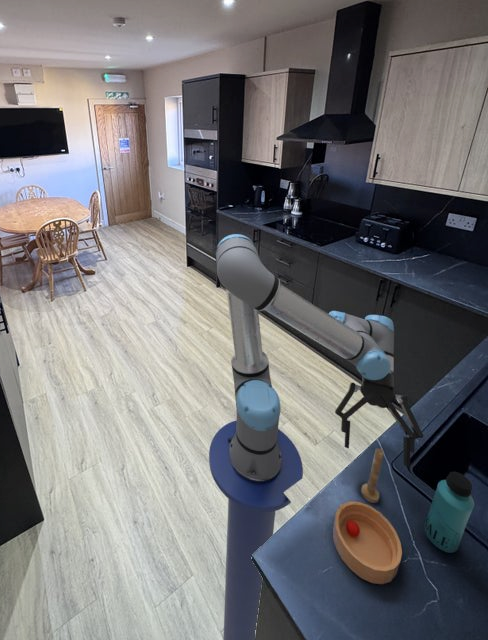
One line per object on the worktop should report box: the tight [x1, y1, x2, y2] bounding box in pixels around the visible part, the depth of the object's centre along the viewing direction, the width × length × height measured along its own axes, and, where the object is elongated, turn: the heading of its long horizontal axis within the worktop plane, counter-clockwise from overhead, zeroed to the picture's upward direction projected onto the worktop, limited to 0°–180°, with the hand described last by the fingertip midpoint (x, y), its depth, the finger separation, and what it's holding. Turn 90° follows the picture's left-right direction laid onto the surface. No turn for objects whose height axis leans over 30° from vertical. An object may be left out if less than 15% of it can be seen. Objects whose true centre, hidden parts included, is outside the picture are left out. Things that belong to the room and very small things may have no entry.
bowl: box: [332, 500, 403, 585], centre depth 72 cm, size 13×13×5 cm
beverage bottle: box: [424, 471, 475, 554], centre depth 71 cm, size 6×7×20 cm
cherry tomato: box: [346, 521, 360, 537], centre depth 75 cm, size 3×3×3 cm
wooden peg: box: [360, 447, 385, 504], centre depth 81 cm, size 4×4×15 cm
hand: (375, 457), depth 83 cm, fingers open, 13 cm apart
